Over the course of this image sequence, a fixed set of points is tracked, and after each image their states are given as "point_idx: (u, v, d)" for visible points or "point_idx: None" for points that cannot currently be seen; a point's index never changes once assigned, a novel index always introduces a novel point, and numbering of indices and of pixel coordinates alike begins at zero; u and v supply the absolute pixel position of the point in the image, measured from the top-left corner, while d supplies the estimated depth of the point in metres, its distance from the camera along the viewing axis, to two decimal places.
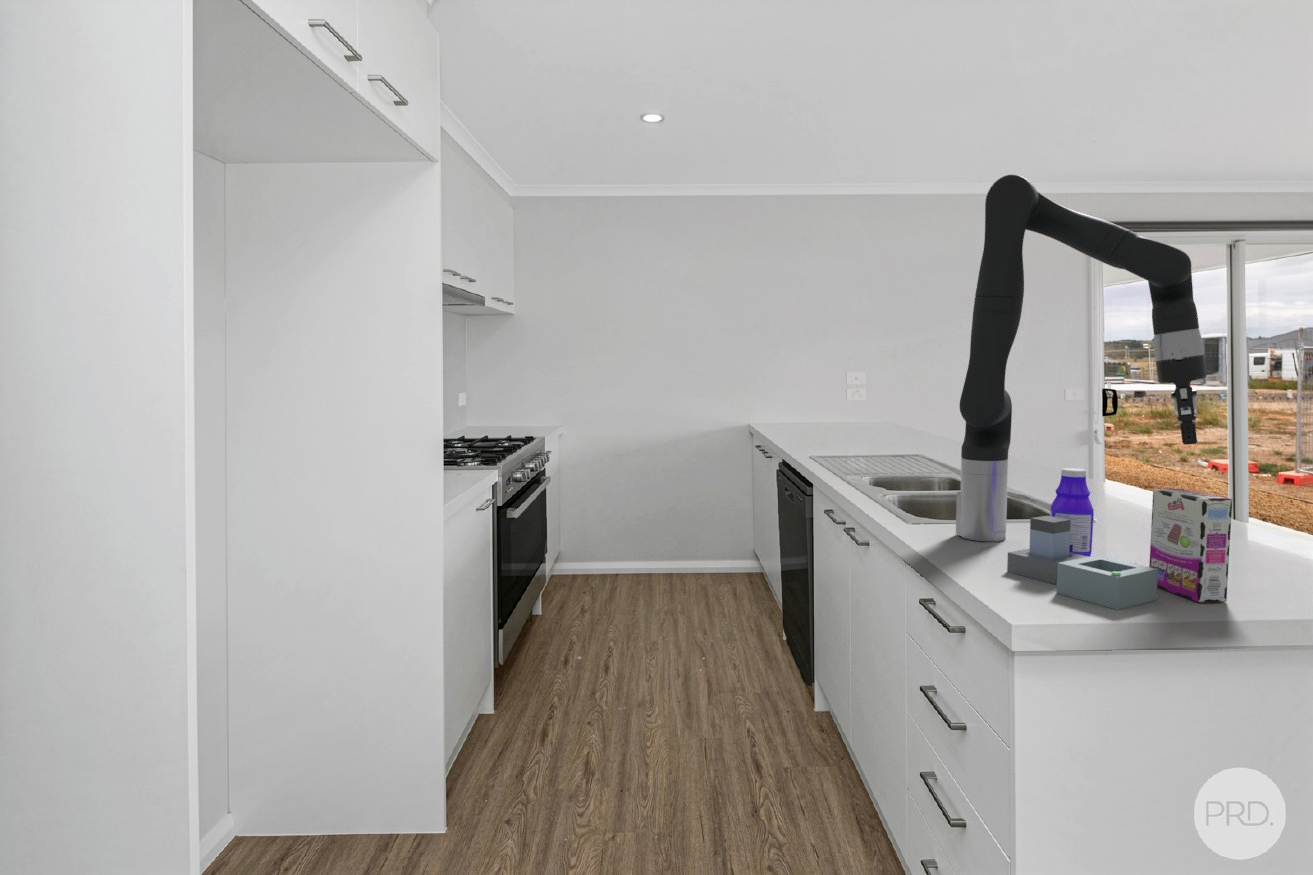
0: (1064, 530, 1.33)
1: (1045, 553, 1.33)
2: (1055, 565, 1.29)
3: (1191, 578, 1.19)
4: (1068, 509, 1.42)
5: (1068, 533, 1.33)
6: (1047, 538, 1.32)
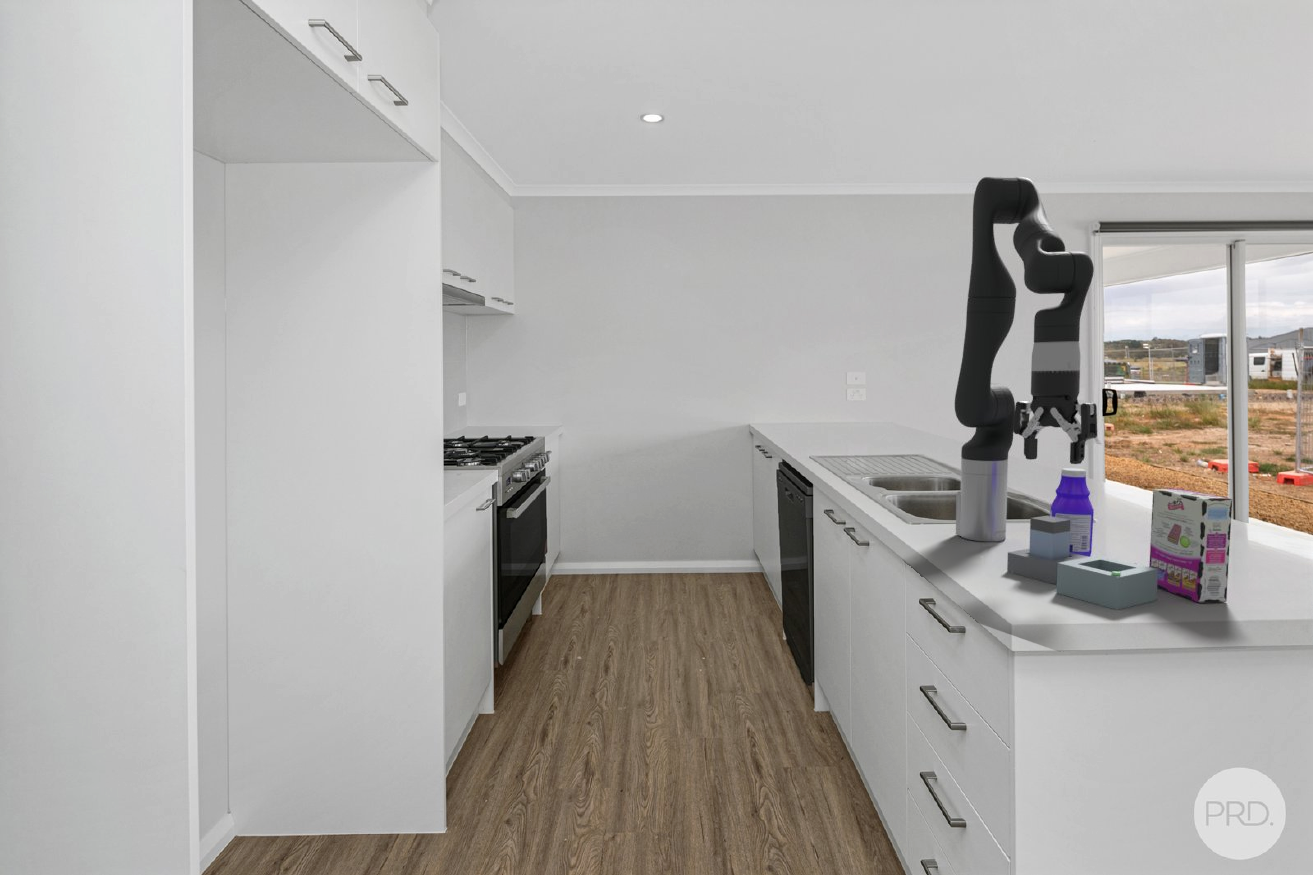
0: (1064, 530, 1.33)
1: (1045, 553, 1.33)
2: (1055, 565, 1.29)
3: (1191, 578, 1.19)
4: (1068, 509, 1.42)
5: (1068, 533, 1.33)
6: (1047, 538, 1.32)
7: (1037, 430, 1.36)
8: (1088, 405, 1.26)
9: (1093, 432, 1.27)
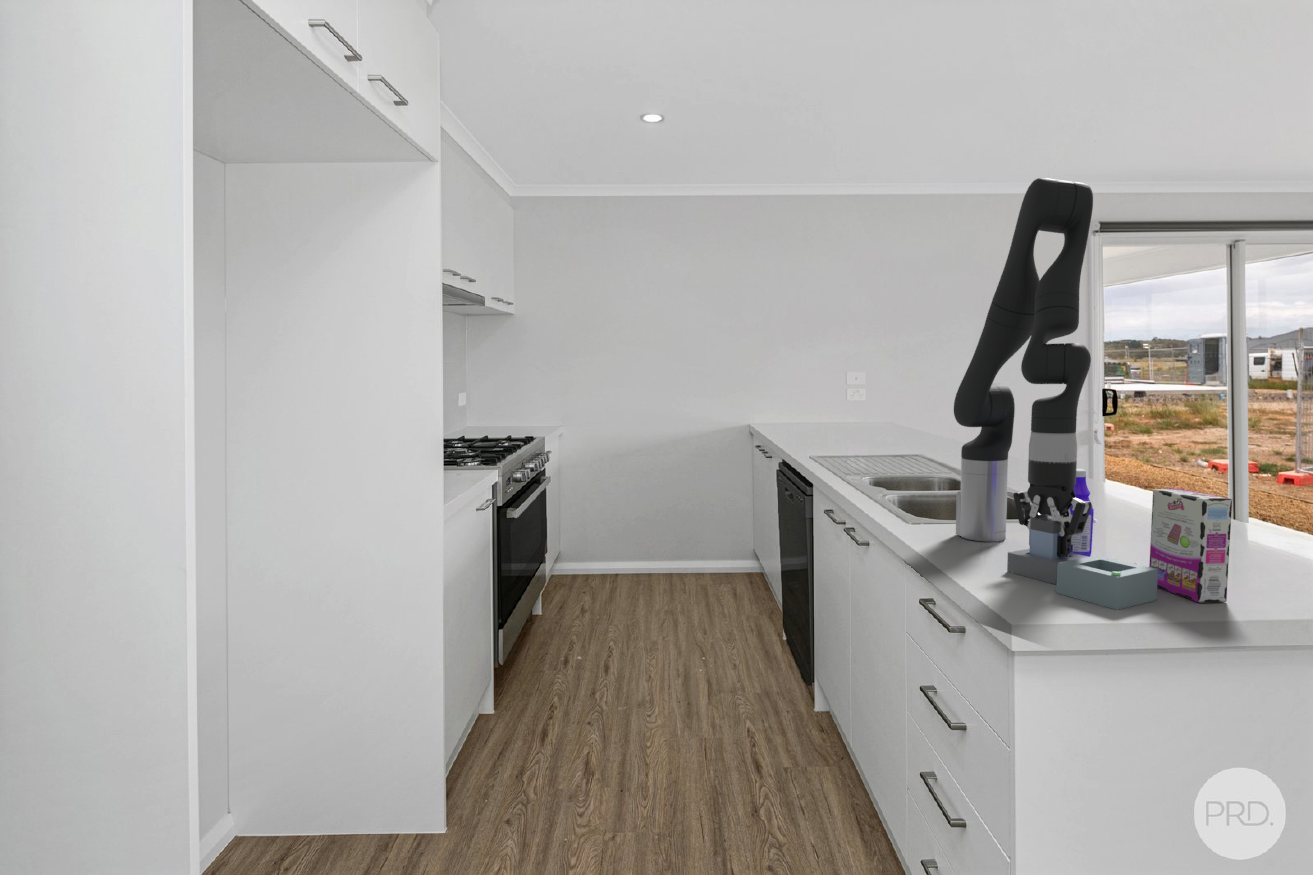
0: None
1: (1045, 553, 1.33)
2: (1055, 565, 1.29)
3: (1191, 578, 1.19)
4: None
5: None
6: (1047, 538, 1.32)
7: None
8: (1083, 505, 1.28)
9: (1079, 528, 1.30)
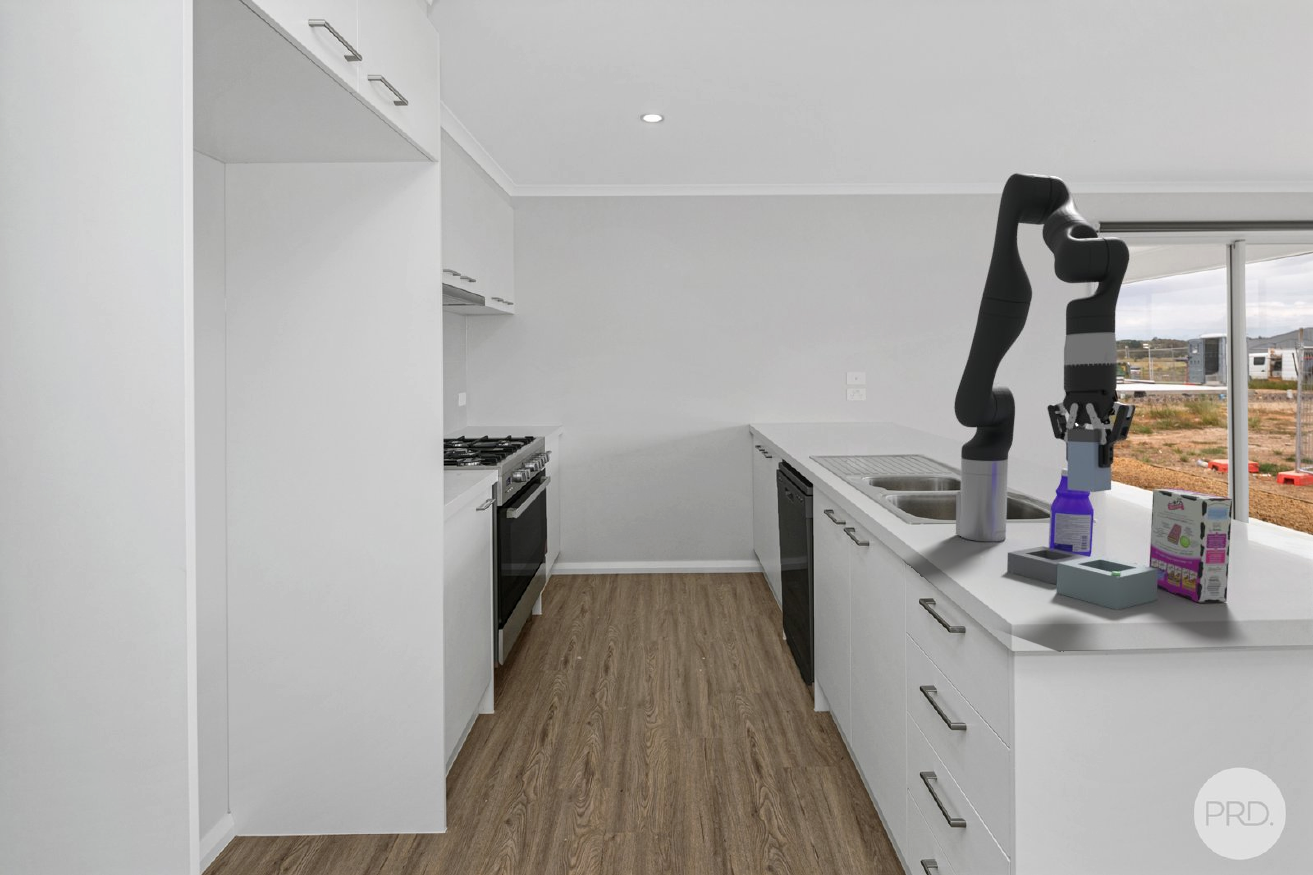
0: None
1: (1085, 464, 1.23)
2: (1055, 565, 1.29)
3: (1191, 578, 1.19)
4: (1068, 509, 1.42)
5: None
6: (1087, 448, 1.23)
7: None
8: (1127, 408, 1.18)
9: (1122, 434, 1.20)
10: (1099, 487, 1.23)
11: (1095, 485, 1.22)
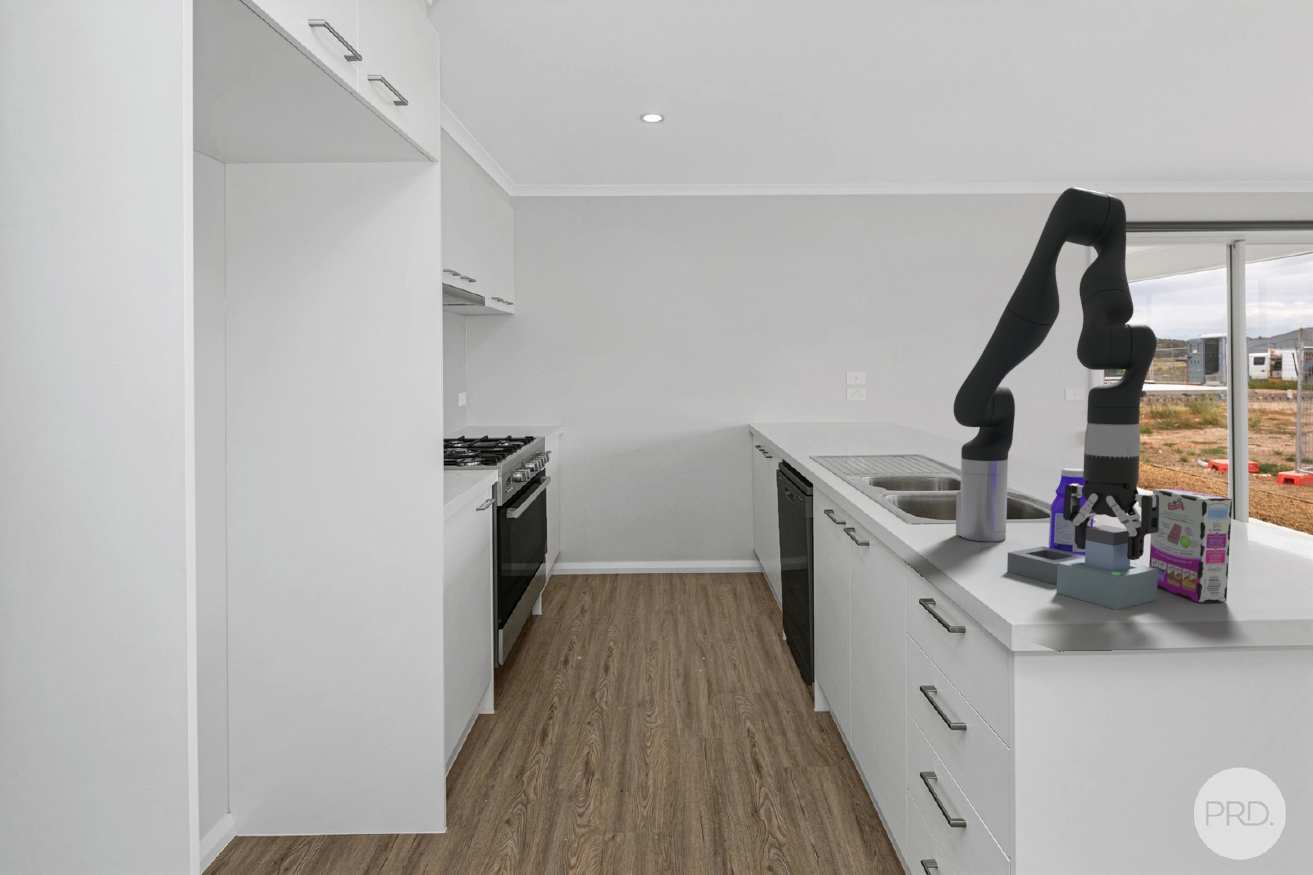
0: (1125, 541, 1.19)
1: (1103, 566, 1.19)
2: (1055, 565, 1.29)
3: (1191, 578, 1.19)
4: None
5: None
6: (1106, 550, 1.19)
7: (1090, 517, 1.24)
8: (1150, 497, 1.14)
9: (1154, 526, 1.15)
10: None
11: None
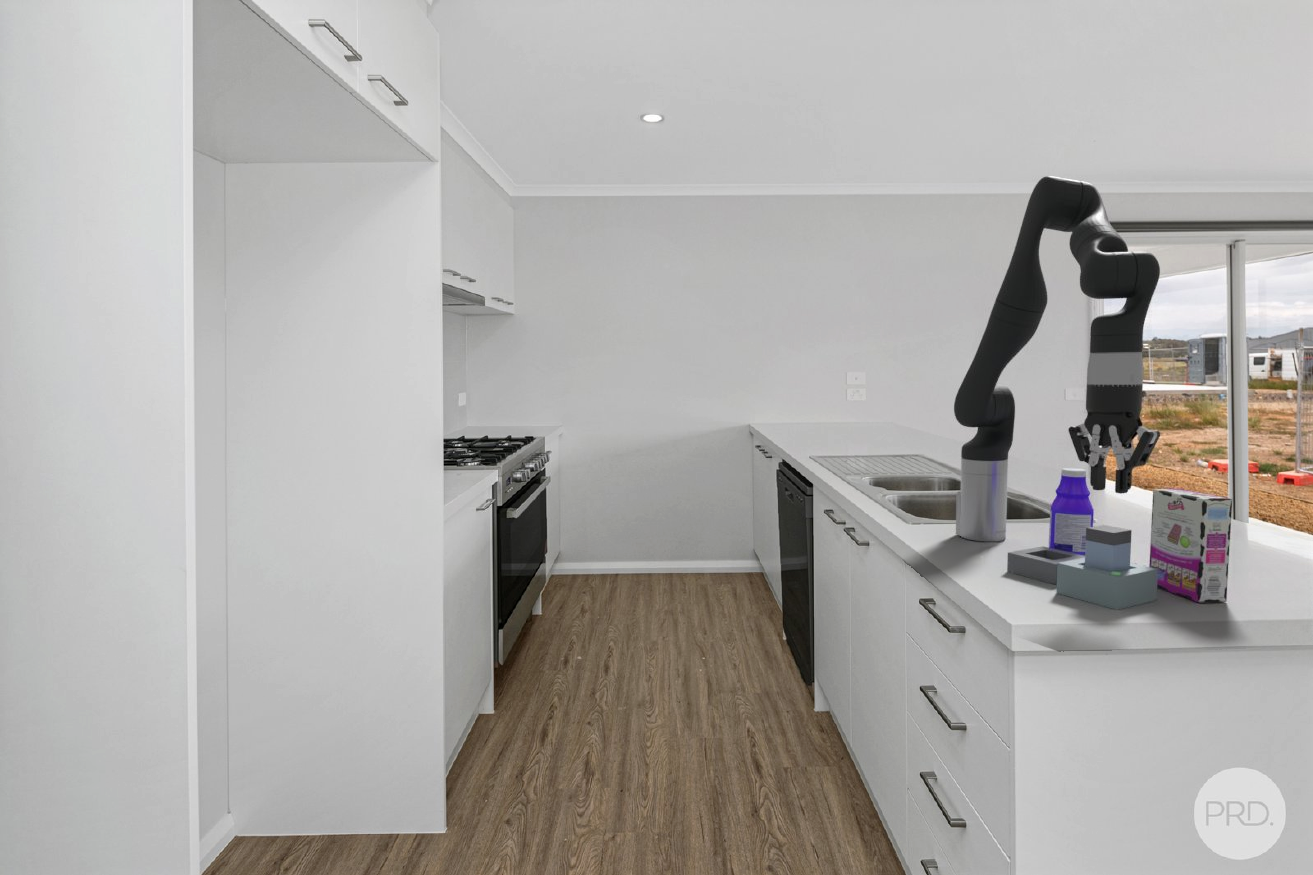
0: (1125, 541, 1.19)
1: (1103, 566, 1.19)
2: (1055, 565, 1.29)
3: (1191, 578, 1.19)
4: (1068, 509, 1.42)
5: (1129, 545, 1.20)
6: (1106, 550, 1.19)
7: (1103, 455, 1.22)
8: (1152, 435, 1.13)
9: (1142, 459, 1.16)
10: None
11: None
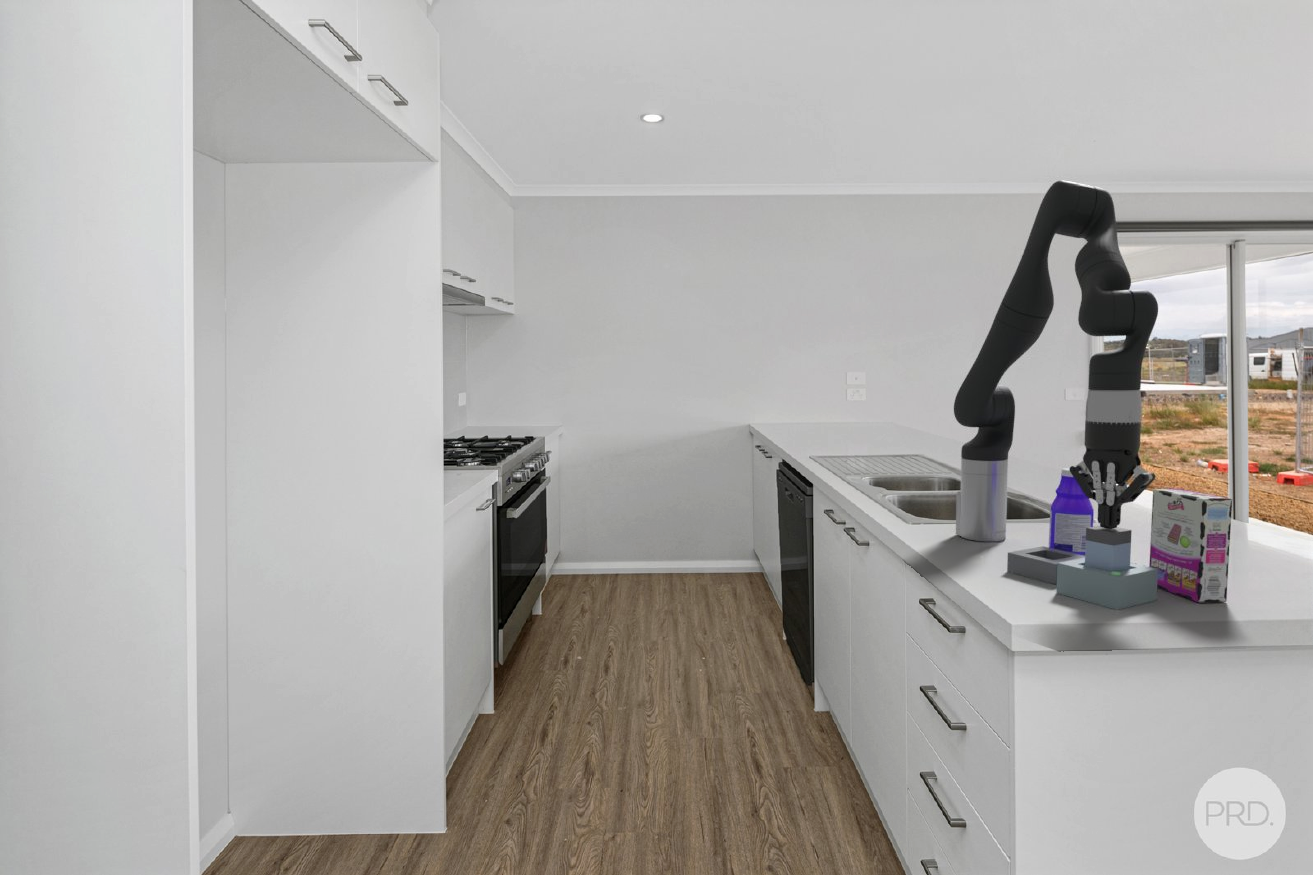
0: (1125, 541, 1.19)
1: (1103, 566, 1.19)
2: (1055, 565, 1.29)
3: (1191, 578, 1.19)
4: (1068, 509, 1.42)
5: (1129, 545, 1.20)
6: (1106, 550, 1.19)
7: None
8: (1147, 479, 1.14)
9: (1130, 496, 1.18)
10: None
11: None
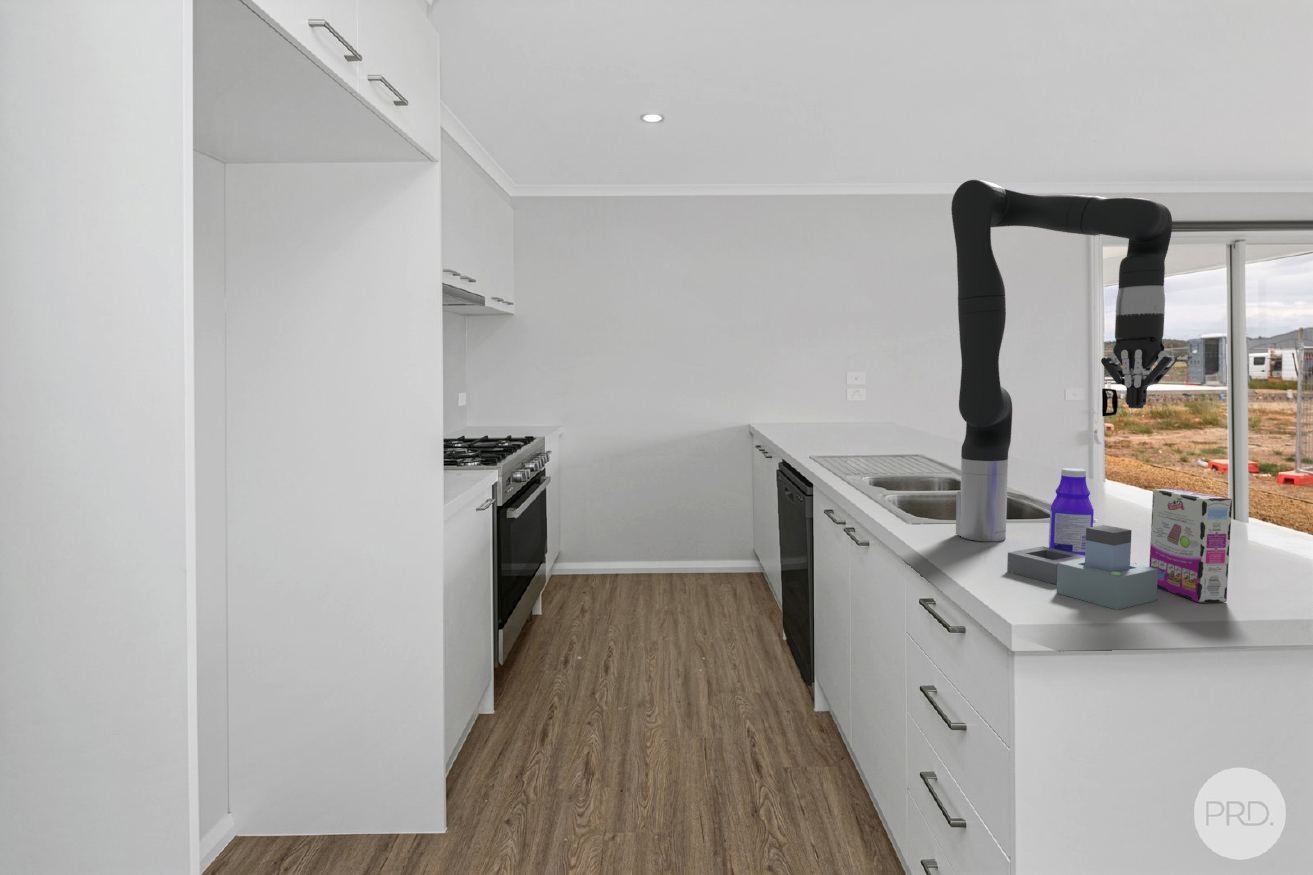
0: (1125, 541, 1.19)
1: (1103, 566, 1.19)
2: (1055, 565, 1.29)
3: (1191, 578, 1.19)
4: (1068, 509, 1.42)
5: (1129, 545, 1.20)
6: (1106, 550, 1.19)
7: None
8: (1170, 360, 1.33)
9: (1155, 378, 1.37)
10: None
11: None
